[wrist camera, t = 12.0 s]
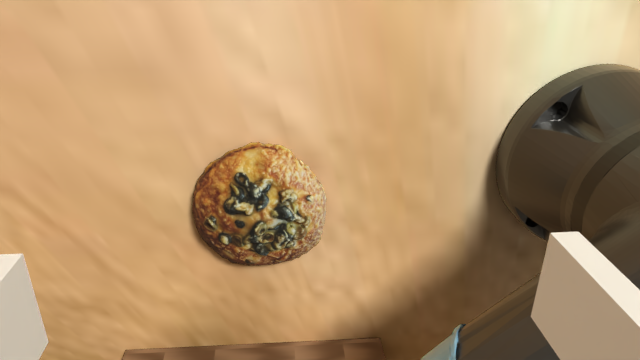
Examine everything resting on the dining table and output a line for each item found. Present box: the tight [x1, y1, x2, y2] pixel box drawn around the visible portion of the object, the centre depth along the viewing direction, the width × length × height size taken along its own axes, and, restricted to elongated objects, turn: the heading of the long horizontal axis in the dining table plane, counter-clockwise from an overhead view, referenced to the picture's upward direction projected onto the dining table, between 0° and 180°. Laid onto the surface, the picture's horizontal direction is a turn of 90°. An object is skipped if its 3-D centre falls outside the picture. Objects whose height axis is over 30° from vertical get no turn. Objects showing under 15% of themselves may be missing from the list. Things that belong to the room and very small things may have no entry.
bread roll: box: [193, 142, 326, 265], centre depth 41 cm, size 11×11×5 cm
